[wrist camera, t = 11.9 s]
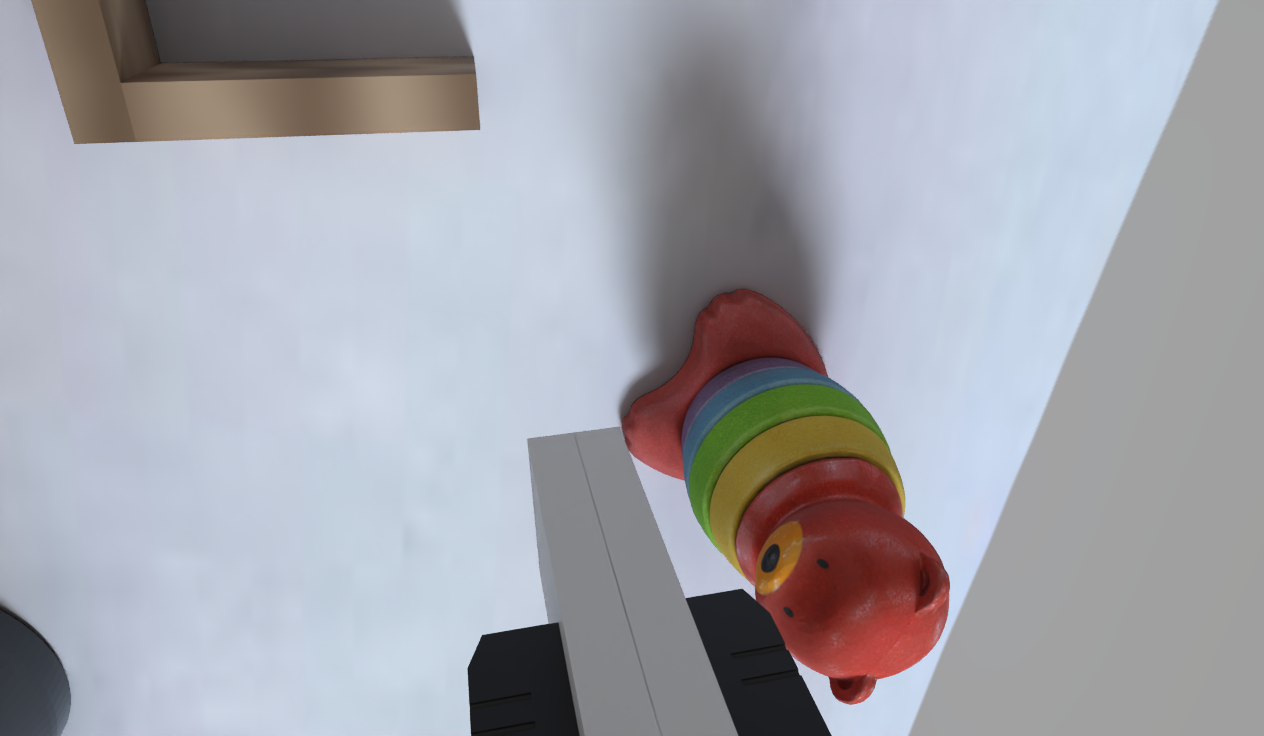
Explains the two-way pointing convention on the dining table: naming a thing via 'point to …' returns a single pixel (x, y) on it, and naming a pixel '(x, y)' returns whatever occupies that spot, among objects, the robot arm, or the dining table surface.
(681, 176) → the dining table surface
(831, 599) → the stacking bear
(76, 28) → the frame
